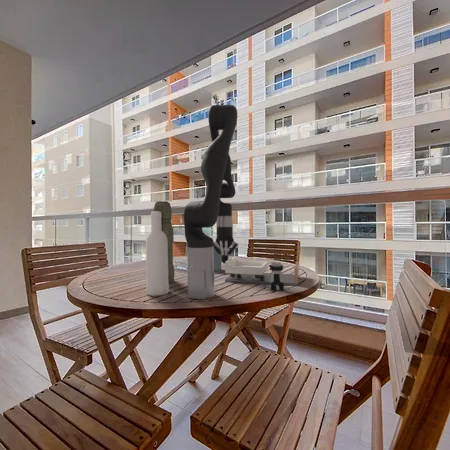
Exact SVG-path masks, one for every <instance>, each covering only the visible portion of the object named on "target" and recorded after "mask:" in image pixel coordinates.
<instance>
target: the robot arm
mask: <svg viewBox="0 0 450 450" xmlns="http://www.w3.org/2000/svg"><path fill="white" fill-rule="evenodd" d="M207 118H208V127H209V133H210V137H211V143H210V144H209V145H208V146H207V147H206V148H205V151H204V152H203V155H202V160H201V165H200V172H201V175H202V177H203V180H204V182H205V185H206V193H205V196H204V199H203V200H197V201H196V200H195V201H194V200H193V201H189V202H188V203H187V204H186V205H185V206H184V210H183V223H184V225H183V227H184V237H185V241H186V243H187V244H186V246H187V299H197V300H206V299H210V298H212V297H214V296H215V272H214V249H215V250H216V252H217V253H218V254H221V255H222V264H225V261H227V260H229V255H231V254H233V252H234V251H235V250H236V249H237V247H239V243H238V242H236V241H235V239H234V236H233V235H234V232H233V231H234V228H233V227H234V226H233V225H234V223H233V211H232V208H233V207H232V204H231V203H228V202H224V201H222V200H221V199H232V198H233V197H235V195H236V193H237V192H236V187H235V184H234V180H233V176H232V160H231V156H230V153H229V152H230V147H231V144H232V140H233V137H234V133H235V129H236V126H237V123H238V110H237V107H236V106H235V105H233V104H213V105H211V106H210V107H209V109H208V117H207ZM219 130H221V132H220V131H219ZM224 181H225V182H224ZM215 225H216V239H215V241H214V238H212V237H211V236H208V235H207V234H206V233H205V232H204V231H203V228H212V227H213V226H215ZM231 246H232V247H231ZM219 247H220V249H221V250H220V249H219ZM230 248H231V249H230Z"/></svg>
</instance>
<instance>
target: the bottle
mask: <svg viewBox="0 0 450 450" xmlns="http://www.w3.org/2000/svg"><path fill="white" fill-rule="evenodd" d="M161 217H162V215H161V212H154V211H150V225H151V227H150V228H151V230H150V232H149V233H148V234H147V235H146V238H145V260H146V261H145V267H146V270H145V271H146V272H145V273H146V295H148V296H150V297H152V296H153V297H157V296H159V297H160V296H163V295H167V294H168V293H169V287H170V286H169V284H170V283H168V240H167V237H166V234H165V233H164V232H163V231H162V226H161Z"/></svg>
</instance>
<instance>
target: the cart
mask: <svg viewBox="0 0 450 450" xmlns="http://www.w3.org/2000/svg"><path fill="white" fill-rule="evenodd" d="M224 267H225V268H224V269H225V270H224V271H225V274H229V276H231V277H235V274H254V275H255V278H257V279H258V278H260V275H263V273H266V271H267V270H268V268H269V261H263V260H261V261H260V260H258V261H257V260H238V257H237V256H233V257H231V258H230V259H229V258H228V260H227V261H225V266H224Z"/></svg>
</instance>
